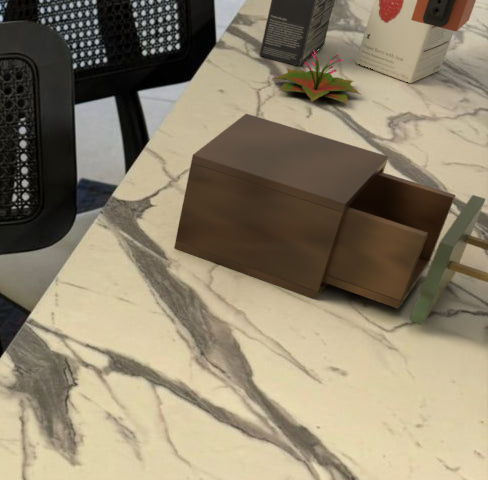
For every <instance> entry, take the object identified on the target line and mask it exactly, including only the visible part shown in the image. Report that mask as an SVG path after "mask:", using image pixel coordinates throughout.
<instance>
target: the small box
mask: <svg viewBox="0 0 488 480" xmlns="http://www.w3.org/2000/svg"><path fill="white" fill-rule="evenodd" d="M335 1H336V0H271V1H270V3H269V4H270V5H269V8H268V9H269V10H268V14H267V19H266V23H265V27H264V33H263V36H262V41H261V46H260V50H259V55H260V56H259V57H262V56H264V57H263V58H266V57H268V58H267V59H269V58H270V60H273V59H274V61H277V62H281V61H282V62H281V63H286V64H288V63H290V64H289V65H292V64H295V65H294V66H296V65H298V66H297V67H301V66H302V65H304V64H305V61H306V60H307V59H308V60H309V59H311V58H312V57H313V56H312V54H314V52H313V51H315V53H316V54H317V52H318V51H317V50H318V49H320V48H321V47H322V46H323V45H324V46H325V42H326V38H327V34H328V30H329V29H328V28H329V25H330V21H331V17H332V12H333V8H334V5H335ZM324 46H323V47H324ZM323 47H322V48H323ZM322 48H321V49H322ZM321 49H320V50H321ZM316 51H317V52H316ZM314 55H315V54H314ZM311 56H312V57H311ZM308 60H307V61H308ZM307 61H306V62H307Z"/></svg>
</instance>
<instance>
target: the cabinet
mask: <svg viewBox="0 0 488 480" xmlns="http://www.w3.org/2000/svg"><path fill="white" fill-rule="evenodd" d="M388 160H389V156H388V155H385V154H381V153H379V152H375V151H372V150H369V149H366V148H362V147H359V146H355V145H352V144H349V143H345V142H343V141H339V140H335V139H332V138H330V137H329V138H328V137H326V136H322V135H319V134H315V133H313V132H309V131H306V130H303V129H298V128H296V127H292V126H290V125H286V124H282V123H279V122H276V121H274V120H273V121H272V120H269V119H266V118H263V117H260V116H256V115H252V114H249V113H245V114H243V115H242V116H241V117H240V118H238V119H237V120H235V121H234V122H233V123H232V124H230V125H229V126H228V127H227V128H225V129H224V130H222V131H221V132H220V133H219V134H218V135H216V136H215V137H214V138H213V139H211V140H210V141H208V142H207V143H206V144H205V145H203V146H202V147H201V148H199V149H198V150H197V151H195V153H193V154H192V157H191V163H190V167H189V172H188V177H187V182H186V187H185V192H184V197H183V202H182V207H181V211H180V216H179V222H178V228H177V231H176V236H175V242H174V247H173V248H174V249H176V250H179V251H181V252H184V253H187V254H189V255H193V256H195V257H198V258H201V259H203V260H206V261H209V262H212V263H214V264H216V265H220V266H223V267H225V268H228V269H231V270H234V271H237V272H239V273H242V274H244V275H247V276H250V277H254V278H257V279H258V280H260V281H261V280H262V281H264V282H267V283H269V284H273V285H275V286H278V287H280V288H283V289H286V290H288V291H291V292H294V293H297V294H300V295H303V296H306V297H308V298H310V299H313V300H316V299H317V298H318V297H319V296H320V294H321V293H322V292H323V290H325V288H326V287H327V286H328V284H327V283H324V282H323V279H324V276H325V273H326V270H327V267H328V264H329V260H330V257H331V254H332V251H333V248H334V245H335V242H336V238H337V235H338V232H339V229H340V226H341V223H342V219H343V216H344V213H345V209H346V208H347V207H348V206H349V205H350V204H351V203H352V201H353V200H354V199H355V198H356V197H357V196H358V195H359V194H360V193H361V191H362V190H363V189H364V188H365V187H366V186H367V185H368V184H369V182H370V181H371V180H372V179H373V178H374V177H375V176H376V175H377V174H378V172H382V173H385V169H386V166H387V163H388Z"/></svg>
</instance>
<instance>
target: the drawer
mask: <svg viewBox="0 0 488 480" xmlns="http://www.w3.org/2000/svg"><path fill="white" fill-rule="evenodd" d="M455 198H456V194H454V193H450V192H447V191H445V190H444V191H443V190H442V189H441V190H440V189H438V188H434V187H432V186H427V185H424V184H422V183H418V182H415V181H411V180H409V179H405V178H401V177H399V176H395V175H392V174H389V173H386V172H383V173H382V172H378V174H377V175H376V176H375V177H374V178H373V179H372V180H371V181H370V182H369V184H368V185H367V186H366V187H365V188H364V189H363V190H362V191H361V193H360V194H359V195H358V196H357V197H356V198H355V199H354V200H353V201H352V203H351V204H350V205H349V206H348V207H347V208H346V209H345V213H344V216H343V219H342V223H341V226H340V229H339V232H338V235H337V238H336V242H335V245H334V248H333V251H332V254H331V257H330V260H329V264H328V267H327V270H326V273H325V276H324V279H323V282H324V283H327V285H331V286H333V287H336V288H338V289H342V290H344V291H346V292H350V293H353V294H355V295H358V296H361V297H364V298H367V299H369V300H372V301H376V302H379V303H381V304H384V305H386V306H390V307H392V308H395V309H399V308H400V307H401V305H402V304H403V303H404V301H405V300H406V298H407V297H408V295H409V294H410V292H411V291H412V290H413V288H414V287H415V285H416V284H417V283H418V281H419V279H420V278H421V276H422V275H423V273H424V272H425V270H426V269H427V268H428V266H429V264H430V266H429V269H428V272H427V274H426V277H425V279H424V282H423V285H422V287H421V289H420V292H419V294H418V297H417V299H416V302H415V303H414V307H413V309H412V312H411V315H410V317H409V321H410V322H414V323H416V324H419V325H423V324H424V323H425V322H426V320H427V318H428V317H429V316H430V313H431V312H432V311H433V309H434V308H435V306H436V305H437V302H438V301H439V299H440V298H441V296H442V295H443V294H444V292H445V290H446V289H447V287H448V285H449V283H450V282H451V281H452V279H453V277H454V276H455V274H456V273H458V274H462V275H464V276H467V277H471V278H474V279H476V280H480V281H483V282H486V283H488V272H487V271H485V270H481V269H477V268H475V267H472V266H469V265H466V264H463V263H460V262H461V259H463V255H464V253H465V250H466V248H467V245H471V246H474V247H477V248H479V249H483V250H486V251H488V240H486V239H483V238H480V237H477V236H474V235H472V233H473V230H474V229H475V226H476V224H477V221H478V219H479V216H480V214H481V212H482V209H483V207H484V204H485V202H486V198H485V197H481V196H478V195H475V194H472V195H471V197H470V198H469V199H468V201H467V202H466V204H465V205H464V206H463V208H462V209H461V210H460V212H459V213H458V215H457V217H456V218H455V220H454V221H453V222H452V224H451V225H450V227H449V229H448V230H447V231H446V233H445V234H444V236H443V237H442V238H441V240H440V236H441V234H442V231H443V229H444V226H445V223H446V221H447V218H448V216H449V214H450V212H451V208H452V206H453V203H454V201H455ZM439 240H440V241H439ZM437 245H438V246H437ZM436 247H437V248H436ZM435 250H436V251H435ZM434 252H435V253H434ZM433 254H434V256H433ZM432 257H433V259H432ZM431 259H432V261H431ZM430 262H431V263H430Z"/></svg>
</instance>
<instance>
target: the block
mask: <svg viewBox="0 0 488 480" xmlns="http://www.w3.org/2000/svg"><path fill="white" fill-rule="evenodd" d="M428 1H429V0H417V3H416V6H415V9H414V12H413V15H412V18H411V20H413V21H417V22H420V23H424V21H423V16H424V13H425V10H426V7H427V4H428ZM476 2H477V0H455V3H454V6H453V9H452V12H451V15H450V18H449V21H448V23H447V24H446V25H445V26H443V27H440V28H444V29H448V30H452V31H454V32H458V31H459V30H460V29H461V28H463V26H464V25H465V24H467V23H468V22H469V21H470V19H471V15H472V12H473V10H474V7H475V4H476ZM424 24H426V23H424ZM428 25H429V24H428ZM432 26H433V25H432ZM436 27H437V26H436Z"/></svg>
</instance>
